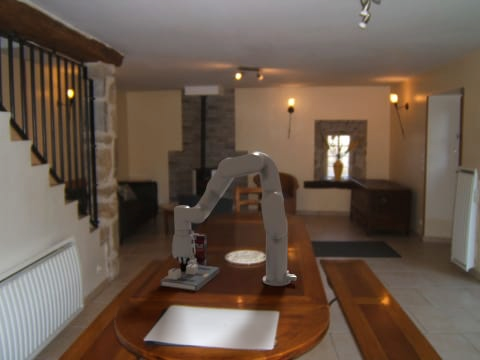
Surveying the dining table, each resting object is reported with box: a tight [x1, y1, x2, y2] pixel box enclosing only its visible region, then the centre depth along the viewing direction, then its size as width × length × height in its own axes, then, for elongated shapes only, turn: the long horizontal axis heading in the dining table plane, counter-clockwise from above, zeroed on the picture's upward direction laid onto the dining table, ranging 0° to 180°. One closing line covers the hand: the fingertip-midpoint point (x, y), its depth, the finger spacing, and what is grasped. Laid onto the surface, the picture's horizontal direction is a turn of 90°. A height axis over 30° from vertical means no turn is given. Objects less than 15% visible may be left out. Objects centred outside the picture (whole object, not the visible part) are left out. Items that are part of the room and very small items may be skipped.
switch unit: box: [159, 265, 220, 292], centre depth 190 cm, size 18×24×3 cm
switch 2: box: [187, 258, 197, 265], centre depth 199 cm, size 4×4×4 cm
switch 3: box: [186, 264, 198, 275], centre depth 190 cm, size 4×4×4 cm
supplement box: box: [191, 232, 208, 266], centre depth 209 cm, size 9×5×16 cm, turn 78°
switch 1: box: [167, 267, 181, 280], centre depth 184 cm, size 4×4×4 cm
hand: (184, 270), depth 191 cm, fingers closed
